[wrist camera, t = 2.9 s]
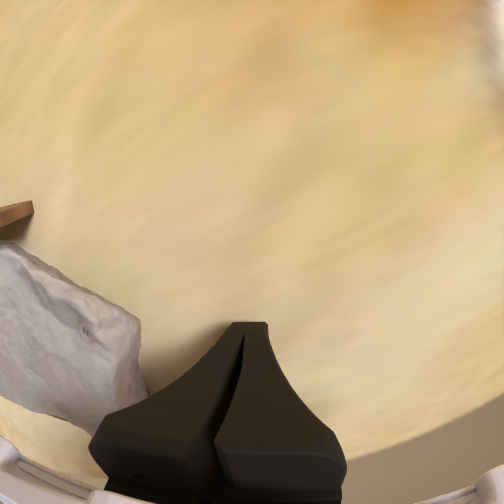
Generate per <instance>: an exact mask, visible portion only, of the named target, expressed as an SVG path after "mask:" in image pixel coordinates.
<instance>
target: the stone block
mask: <svg viewBox="0 0 504 504" xmlns="http://www.w3.org/2000/svg"><path fill="white" fill-rule="evenodd" d="M140 330H141V326H140V321H139V319H137V318H136V317H135V316H133V315H131V314H130V313H129V312H127V311H126V310H124V309H123V308H122V307H119V306H116V305H114V304H112V303H110V302H107V301H106V300H104V299H103V298H101V297H100V296H98V295H97V294H96V293H93V292H91V291H90V290H88V289H86V288H84V287H80V286H78V285H77V284H75V283H74V282H73V281H72V280H70V279H69V278H67V277H66V276H64V275H63V274H62V273H61V272H60V271H59V270H58V269H56V268H54V267H52V266H50V265H48V264H46V263H44V262H43V261H42V260H40V259H39V258H38V257H35V256H33V255H31V254H29V253H27V252H26V251H24V250H23V249H22V248H21V247H19V246H18V245H15V244H12V243H7V244H5V245H2V246H0V395H1V396H3V397H4V398H6V399H8V400H10V401H12V402H14V403H16V404H18V405H21V406H23V407H24V408H26V409H29V410H30V411H32V412H36V413H41V414H49V415H53V416H57V417H60V418H64V419H66V420H68V421H70V422H71V423H72V424H73V425H75V426H78V427H80V428H83V429H84V430H85V431H87V432H88V433H89V434H90V435H91V436H92V437H93V436H94V434H95V432H96V431H97V429H98V427H99V425H100V423H101V422H102V420H103V419H104V417H105V416H106V414H110V413H113V412H115V411H118V410H121V409H123V408H126V407H129V406H131V405H134V404H136V403H138V402H140V401H142V400H144V399H146V398H148V397H149V395H148V393H147V386H146V384H145V382H144V377H143V374H142V372H141V370H140V368H139V365H138V355H139V349H140V346H141V335H140Z"/></svg>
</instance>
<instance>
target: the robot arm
mask: <svg viewBox="0 0 504 504" xmlns="http://www.w3.org/2000/svg"><path fill="white" fill-rule="evenodd" d="M88 447H89V452H90V454H91V455H92V457H93V459H94V460H95V461H96V463H97V464H98V465H99V466H100V467H101V469H102V470H103V471H104V472H105V473H106V475H107V476H108V477H109V479H108V481H107V483H106V486H105V488H104V490H102V489H99V488H96V487H93V486H91V485H88V484H85V483H83V482H80V481H77V480H75V479H72V478H69V477H67V476H65V475H63V474H60V473H58V472H56V471H54V470H51V469H49V468H47V467H45V466H43V465H41V464H39V463H37V462H35V461H33V460H31V459H29V458H27V457H25V456H23V455H21V453H20V452H19V451H18V449H17V448H16V447H15V446H14V445H13V444H12V443H11V442H10V441H8V440H7V439H5V438H3V437H1V436H0V500H1V501H2V502H3V503H4V504H341V500H342V490H341V486H342V484H343V481H344V478H345V475H346V472H347V464H346V460H345V457H344V453H343V451H342V448H341V446H340V444H339V442H338V439H337V437H336V435H335V433H334V432H333V431H332V430H331V429H330V428H328V427H327V426H326V425H325V424H324V423H323V422H322V421H321V420H319V419H318V418H317V417H316V416H315V415H314V414H313V413H312V412H311V410H310V409H309V408H308V407H307V406H306V405H305V404H304V402H303V401H302V400H301V399H300V398H299V396H298V395H297V394H296V392H295V391H294V390H293V388H292V387H291V385H290V384H289V382H288V380H287V379H286V377H285V375H284V374H283V372H282V370H281V368H280V366H279V364H278V362H277V360H276V357H275V355H274V352H273V350H272V347H271V344H270V341H269V336H268V324H267V323H266V322H233V323H232V324H231V325H230V326H229V327H228V329H227V330H226V331H225V333H224V334H223V335H222V336H221V337H220V339H219V340H218V341H217V342H216V343H215V344H214V346H213V347H212V348H211V349H210V350H209V351H208V352H207V353H206V354H205V355H204V356H203V357H202V358H201V359H200V360H199V361H198V362H197V363H196V364H195V365H194V366H193V367H192V368H191V369H190V370H189V371H187V372H186V373H185V374H184V375H183V376H181V377H180V378H179V379H177V380H176V381H175V382H173V383H171V384H170V385H168V386H167V387H165V388H164V389H162V390H160V391H159V392H157V393H156V394H154V395H152V396H150V397H148V398H146V399H144V400H142V401H140V402H138V403H136V404H134V405H131V406H129V407H126V408H123V409H121V410H118V411H115V412H113V413H110V414H106V416H105V417H104V419H103V420H102V422H101V423H100V425H99V427H98V429H97V431H96V432H95V434H94V436H93V438H92V440H91V442H90V444H89V446H88ZM413 504H504V464H502V465H500V466H498V467H495V468H493V469H491V470H489V471H488V472H486V473H485V474H483V475H482V476H481V477H480V478H479V479H478V481H477V482H476V484H474V485H471V486H469V487H466V488H463V489H460V490H457V491H454V492H452V493H448V494H445V495H442V496H438V497H435V498H432V499H428V500H424V501H421V502H417V503H413Z"/></svg>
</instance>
